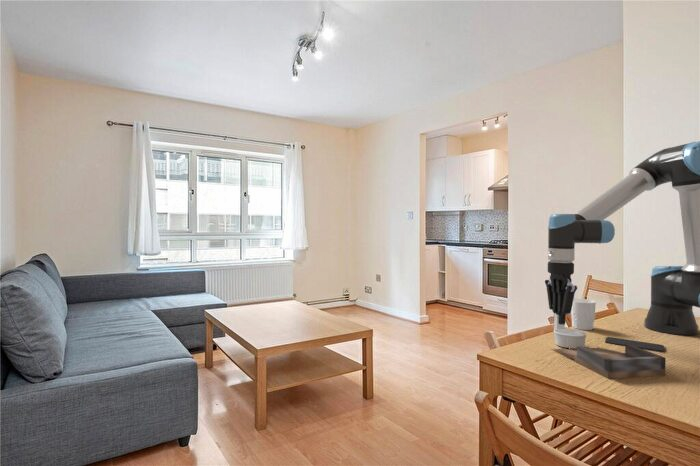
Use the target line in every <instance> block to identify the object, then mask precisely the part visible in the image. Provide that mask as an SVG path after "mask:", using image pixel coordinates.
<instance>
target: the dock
mask: <svg viewBox="0 0 700 466" xmlns="http://www.w3.org/2000/svg"><path fill="white" fill-rule="evenodd" d="M596 347H597V348H589V347H585V346H584V347H582V346H577V349H567V348H551V349H550V350H551V351H553V352H555V353H557V354H560V355H561V356H563V357H564V358H567V359H568V358H569V359H571V360H573V361H574V362H575V363H577V364H579V365H581V366H582V367H584V368H586V369H589V370H590V371H592V372H595V373H597V374H599V375H600V376H602V377H604V378H606V379H620V378H621V379H622V378H623V379H624V378H639V377H658V376H661V377H662V376H666V359H667V358H666V357H665V356H663V355H659V354H657V353H654V352H653V351H650V350H644V349H641V348H638V347H636V346H633V345H630V344H625V346H624V352H621V351H617V350H613V349H612V350H611V349H608V348H604V347H599V346H596Z"/></svg>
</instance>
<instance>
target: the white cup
mask: <svg viewBox="0 0 700 466" xmlns="http://www.w3.org/2000/svg"><path fill="white" fill-rule="evenodd" d="M596 305H597V302H596V300H592V299H586V298H574V299H573V304H572V309H571V313H570V314H571V327H572V328H574V329H575V330H580V331H592V329H593V330H594V323H595V318H596Z"/></svg>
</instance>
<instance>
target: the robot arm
mask: <svg viewBox="0 0 700 466" xmlns="http://www.w3.org/2000/svg"><path fill="white" fill-rule="evenodd" d="M667 183H671V188H672V189H673V190H675V191H676V192H678V195H679V197H678V198H679V204H680V206H679V207H680V216H681V222H682V224H681V225H682V232H683V240H684V249H685V250H684V251H685V259H686V264H684V265H655V266H654V267H653V268H652V269H651V275H650V307H649V309H648V311H647V315H646V317H645V318H644V323H643V324H644V327H645V328H647V329H648V330H649V329H650V330H653V331H656V332H660V333H666V334H671V335H672V334H673V335H683V336H693V335H698V334H699V325H698V324H697V321H696V317H695V313H694V312H693V309H694V308H693V307H695V308H699V309H700V141H698V140H697V141H692V142H688V143H685V144H679V145H676V146H672V147H668V148H663V149H661V150H659V151H657V152H656V153H654V154H652V155H651V156H649V157H648V158H646V159H645V160H642V162H640V163H638V164H637V165H636V166H635V167H633V168H632V169H630V170H629V172H628V175H626V176H625V177H624V178H623V179H621V180H620V181H619V182H617V183H616V184H614V185H613V186H611V187H610V188H609V189H607V190H606V191H605V192H603V193H602V194H600V195H599V196H597V197H596V198H595V199H593V200H592V201H591V202H589V203H588V204H587V205H585V206H583V207H582V208H581V209H579V210H578V211H576V212H575V213H553V214H551V215H549V219H548V225H547V226H548V227H547V229H548V231H547V232H548V236H547V237H548V239H547V241H548V242H547V243H548V246H547V247H548V250H547V260H548V262H547V272H548V273H549V274H550V275H549V279H545V280H544V283H545V286H546V293H547V302H548V309H549V310H551V311H552V313H553V331H554V330H555V329H562V328H564V329H566V328H565V327H566V326H565V325H566V315H569V314H571V309H572V304H573V299H575V294H576V292H577V290H578V286H577V285H574V284H573V283H572V281H573V280H572V277H571V276H572V275H573V274H574V273H575V263H574V261H575V245H576V244H599V245H600V244H608V243H610V242H612V241H613V239H615V238H614V237H615V231H616V229H615V226H614V224H613V223H612V222H611V221H610V220H607V218H609V217H610V216H612V215H613V214H615V213H616V212H617V211H619V210H620V209H621V208H623V207H625V206H626V205H627V204H628V203H630V202H631V201H633V200H634V199H635V198H637V197H639V196H640V195H642V193H644V192H646V191H652V190H654V189H655V188H657V187H659V186H661V185H663V184H667Z"/></svg>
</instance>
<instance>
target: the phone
mask: <svg viewBox="0 0 700 466" xmlns="http://www.w3.org/2000/svg"><path fill="white" fill-rule="evenodd" d="M604 343H605V344H609V345H613V344H614V346H621V347H625V344H630V345H633V346H636V347H638V348H641V349H644V350H646V351H649V352H656V353H665V351H666V350H665V345H663V344H659V343H652V342H646V341H638V340H632V339H624V338H619V337H612V336H611V337H610V336H607V337H606V338H605V340H604Z"/></svg>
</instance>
